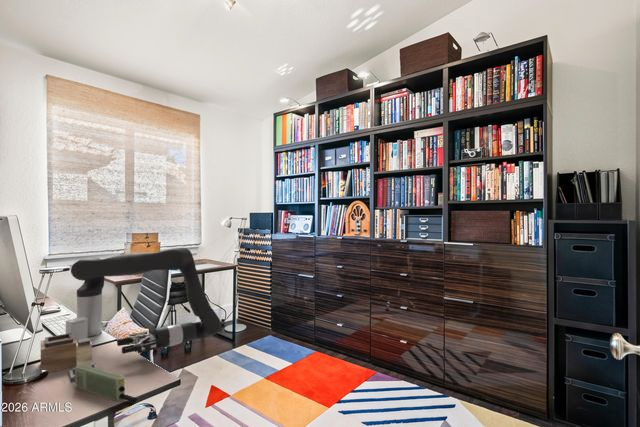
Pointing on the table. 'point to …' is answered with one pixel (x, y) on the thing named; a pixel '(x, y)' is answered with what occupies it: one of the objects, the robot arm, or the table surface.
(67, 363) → the walnut dock
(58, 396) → the table surface
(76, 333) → the skincare box
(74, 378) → the low socket
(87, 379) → the handheld radio
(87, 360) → the beech plug
